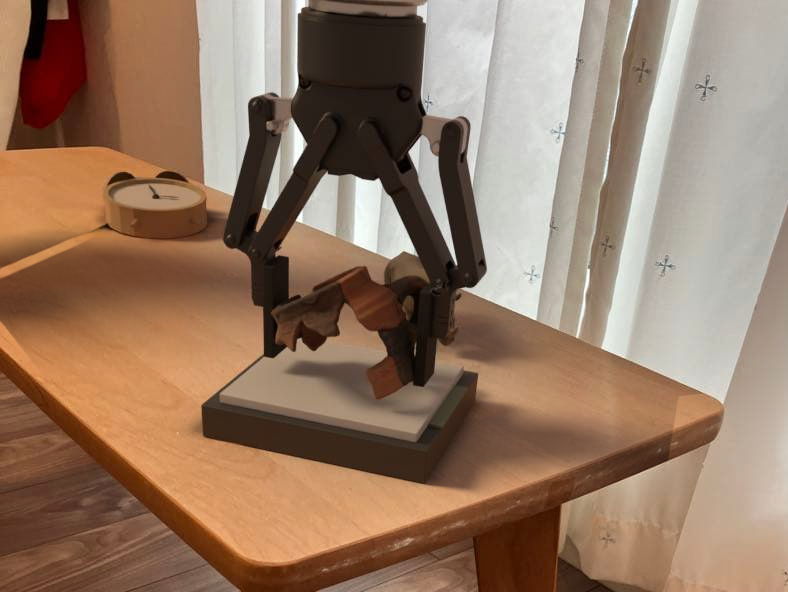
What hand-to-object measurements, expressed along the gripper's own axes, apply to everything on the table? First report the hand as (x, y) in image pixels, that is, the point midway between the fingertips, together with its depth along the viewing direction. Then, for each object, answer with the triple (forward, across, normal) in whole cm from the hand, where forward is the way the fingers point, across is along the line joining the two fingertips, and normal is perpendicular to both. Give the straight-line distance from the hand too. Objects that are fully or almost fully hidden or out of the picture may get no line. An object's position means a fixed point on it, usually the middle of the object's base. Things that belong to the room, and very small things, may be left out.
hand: (348, 364), depth 67 cm
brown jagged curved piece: (0, +1, 0) cm, 1 cm away
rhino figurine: (+4, 0, +19) cm, 19 cm away
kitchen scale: (+4, 0, 0) cm, 4 cm away
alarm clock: (+4, -38, +39) cm, 55 cm away
